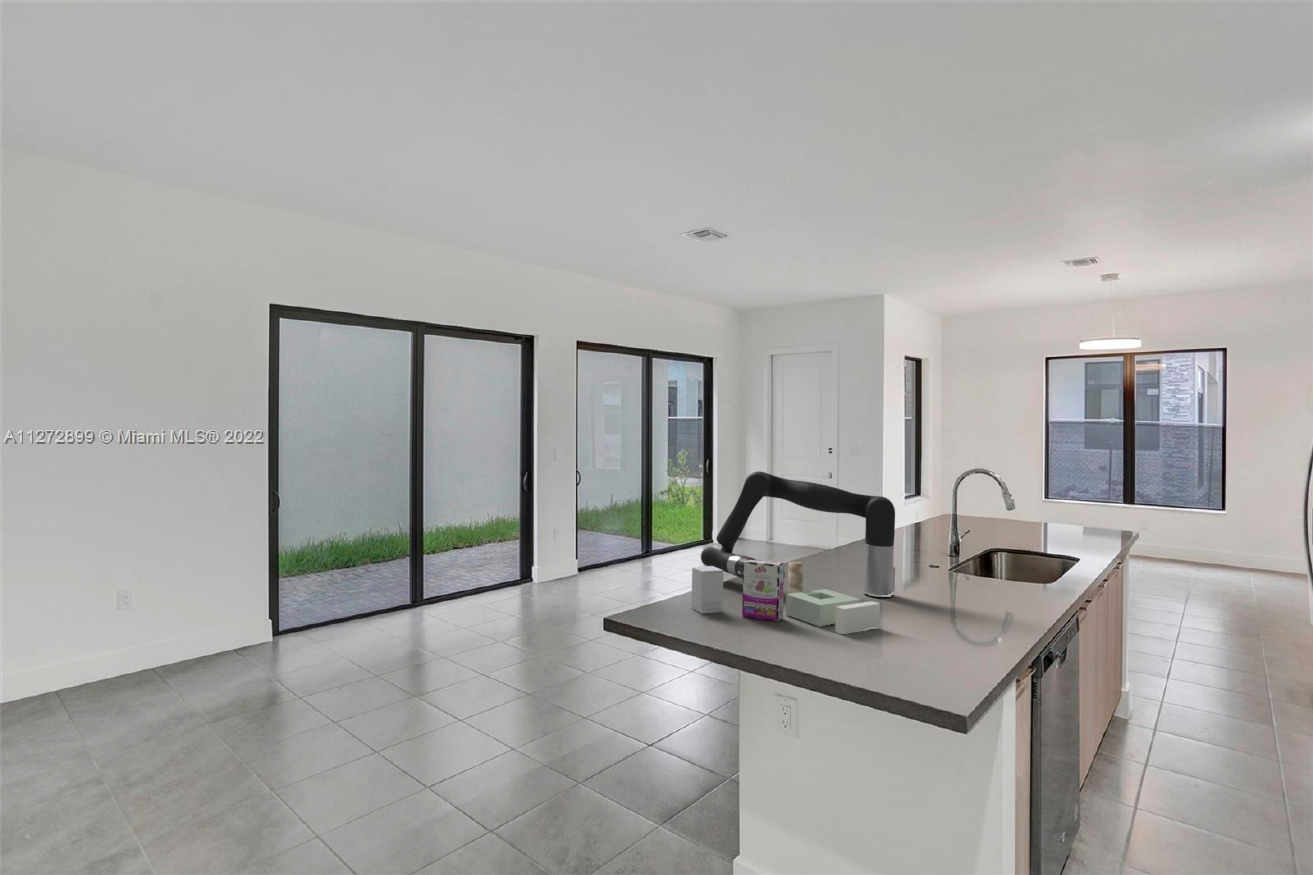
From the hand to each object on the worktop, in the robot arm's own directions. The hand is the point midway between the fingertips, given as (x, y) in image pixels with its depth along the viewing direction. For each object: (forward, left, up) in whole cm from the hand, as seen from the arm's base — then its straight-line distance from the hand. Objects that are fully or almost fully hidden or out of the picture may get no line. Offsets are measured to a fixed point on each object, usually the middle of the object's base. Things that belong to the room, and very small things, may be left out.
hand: (773, 576), depth 216 cm
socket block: (0, +22, -8) cm, 24 cm away
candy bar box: (+16, +14, -8) cm, 23 cm away
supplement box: (+26, 0, -8) cm, 27 cm away
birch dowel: (0, +10, -8) cm, 13 cm away
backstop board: (0, +36, -8) cm, 37 cm away
